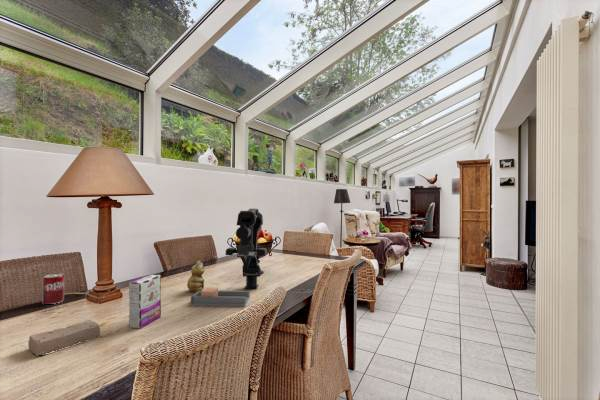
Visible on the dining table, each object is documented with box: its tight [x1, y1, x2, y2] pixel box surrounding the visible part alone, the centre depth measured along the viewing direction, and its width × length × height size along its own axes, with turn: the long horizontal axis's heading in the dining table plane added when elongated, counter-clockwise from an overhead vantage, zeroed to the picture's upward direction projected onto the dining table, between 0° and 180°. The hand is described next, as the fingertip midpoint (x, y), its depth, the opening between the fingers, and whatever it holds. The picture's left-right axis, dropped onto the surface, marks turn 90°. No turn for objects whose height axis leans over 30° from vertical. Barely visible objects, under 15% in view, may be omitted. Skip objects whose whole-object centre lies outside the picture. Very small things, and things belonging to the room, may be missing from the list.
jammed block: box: [201, 286, 219, 296], centre depth 131 cm, size 6×6×4 cm
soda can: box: [41, 273, 65, 305], centre depth 127 cm, size 7×7×12 cm
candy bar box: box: [128, 274, 162, 329], centre depth 108 cm, size 11×5×16 cm, turn 168°
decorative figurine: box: [186, 260, 205, 293], centre depth 146 cm, size 10×8×15 cm
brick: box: [28, 319, 101, 356], centre depth 92 cm, size 17×8×5 cm, turn 148°
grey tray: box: [189, 289, 251, 308], centre depth 130 cm, size 12×24×4 cm, turn 90°
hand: (246, 269), depth 137 cm, fingers closed
